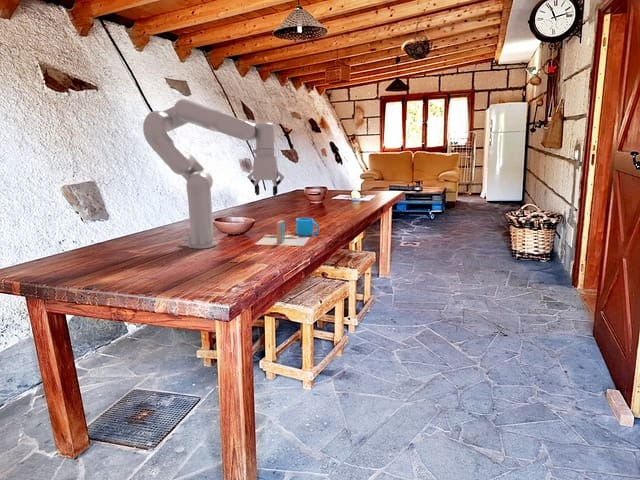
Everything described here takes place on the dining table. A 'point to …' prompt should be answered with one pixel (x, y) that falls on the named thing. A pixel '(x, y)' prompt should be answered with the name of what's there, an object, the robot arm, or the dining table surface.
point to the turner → (285, 236)
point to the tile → (280, 231)
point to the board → (273, 241)
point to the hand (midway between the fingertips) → (266, 194)
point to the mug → (305, 226)
